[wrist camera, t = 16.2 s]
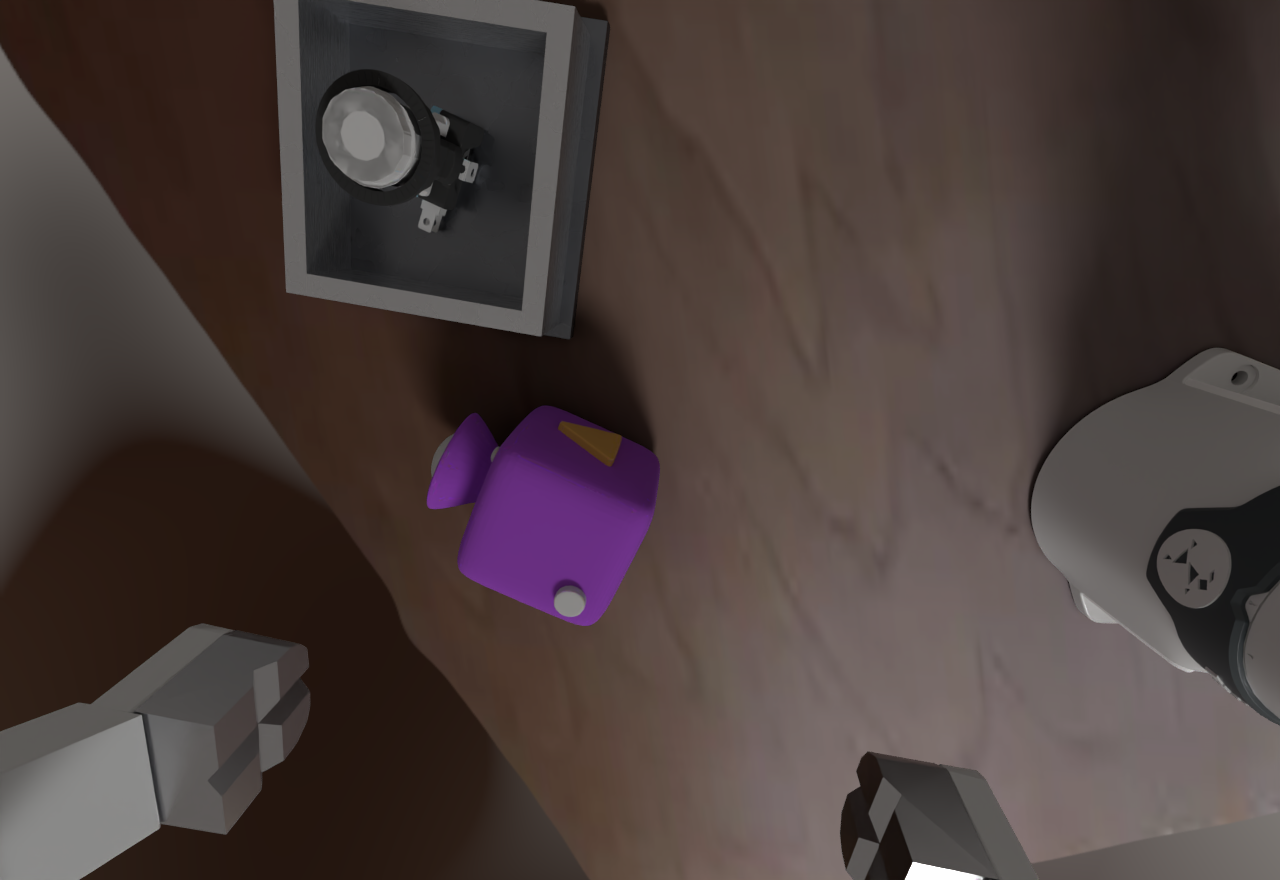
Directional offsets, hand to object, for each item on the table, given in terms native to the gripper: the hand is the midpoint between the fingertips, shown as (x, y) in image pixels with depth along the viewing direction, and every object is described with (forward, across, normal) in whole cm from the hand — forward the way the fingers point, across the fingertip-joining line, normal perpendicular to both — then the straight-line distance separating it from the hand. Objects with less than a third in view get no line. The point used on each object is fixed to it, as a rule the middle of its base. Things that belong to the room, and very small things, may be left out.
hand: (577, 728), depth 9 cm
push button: (+30, +14, -8) cm, 34 cm away
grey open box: (+31, +14, -8) cm, 35 cm away
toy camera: (+31, +6, +10) cm, 33 cm away
